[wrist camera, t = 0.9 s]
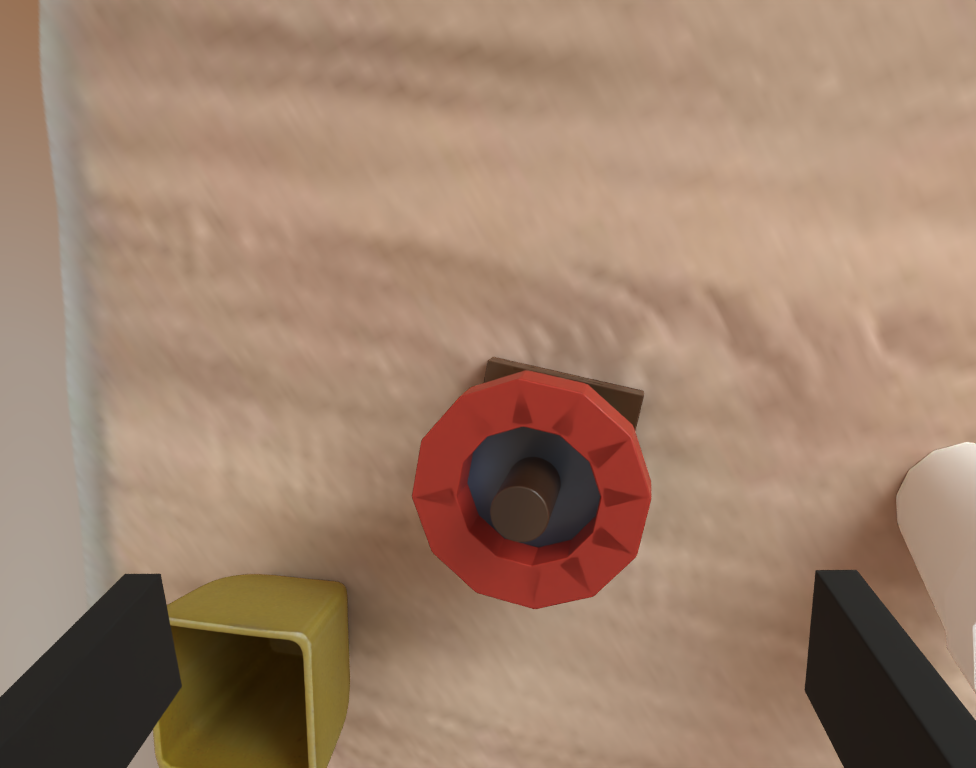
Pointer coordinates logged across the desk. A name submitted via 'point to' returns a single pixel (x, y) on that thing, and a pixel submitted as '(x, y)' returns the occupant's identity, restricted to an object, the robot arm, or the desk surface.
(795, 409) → the desk surface
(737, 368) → the desk surface
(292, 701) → the flower pot
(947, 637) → the foam cup
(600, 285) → the desk surface
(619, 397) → the stacking post
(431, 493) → the ring
